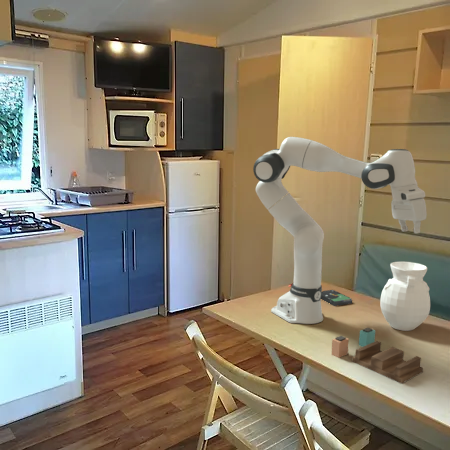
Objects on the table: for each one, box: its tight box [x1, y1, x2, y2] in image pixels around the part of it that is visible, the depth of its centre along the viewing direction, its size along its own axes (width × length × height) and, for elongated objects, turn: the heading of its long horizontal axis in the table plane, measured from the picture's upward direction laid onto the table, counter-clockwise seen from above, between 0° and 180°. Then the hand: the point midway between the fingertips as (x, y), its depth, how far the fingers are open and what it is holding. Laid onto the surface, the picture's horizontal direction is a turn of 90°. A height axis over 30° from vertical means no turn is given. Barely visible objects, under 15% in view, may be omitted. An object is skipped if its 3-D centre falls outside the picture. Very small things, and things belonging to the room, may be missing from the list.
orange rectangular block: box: [331, 335, 350, 359], centre depth 160 cm, size 3×5×6 cm, turn 128°
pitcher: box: [379, 261, 431, 332], centre depth 184 cm, size 19×18×25 cm
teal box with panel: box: [358, 327, 376, 347], centre depth 168 cm, size 3×5×6 cm, turn 128°
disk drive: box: [321, 289, 353, 307], centre depth 217 cm, size 10×3×15 cm
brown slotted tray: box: [351, 340, 424, 384], centre depth 152 cm, size 18×12×4 cm, turn 38°
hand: (410, 232), depth 167 cm, fingers open, 8 cm apart
